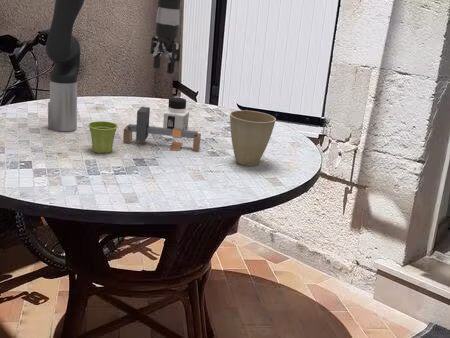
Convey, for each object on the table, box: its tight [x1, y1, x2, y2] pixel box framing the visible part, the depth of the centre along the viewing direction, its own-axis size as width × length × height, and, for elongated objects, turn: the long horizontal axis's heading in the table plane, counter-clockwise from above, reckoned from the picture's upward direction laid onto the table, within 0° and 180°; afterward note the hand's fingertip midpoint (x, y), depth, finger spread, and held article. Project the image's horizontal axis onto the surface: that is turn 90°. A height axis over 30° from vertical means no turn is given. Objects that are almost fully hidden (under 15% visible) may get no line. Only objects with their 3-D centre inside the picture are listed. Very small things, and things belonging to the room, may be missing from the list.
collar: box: [135, 106, 151, 143], centre depth 192 cm, size 3×7×10 cm, turn 177°
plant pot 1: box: [87, 120, 119, 154], centre depth 181 cm, size 9×9×9 cm
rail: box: [122, 123, 202, 152], centre depth 193 cm, size 26×9×6 cm, turn 87°
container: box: [162, 96, 190, 131], centre depth 210 cm, size 8×8×13 cm
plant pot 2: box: [229, 109, 277, 167], centre depth 183 cm, size 15×15×16 cm
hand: (163, 70), depth 190 cm, fingers open, 8 cm apart
